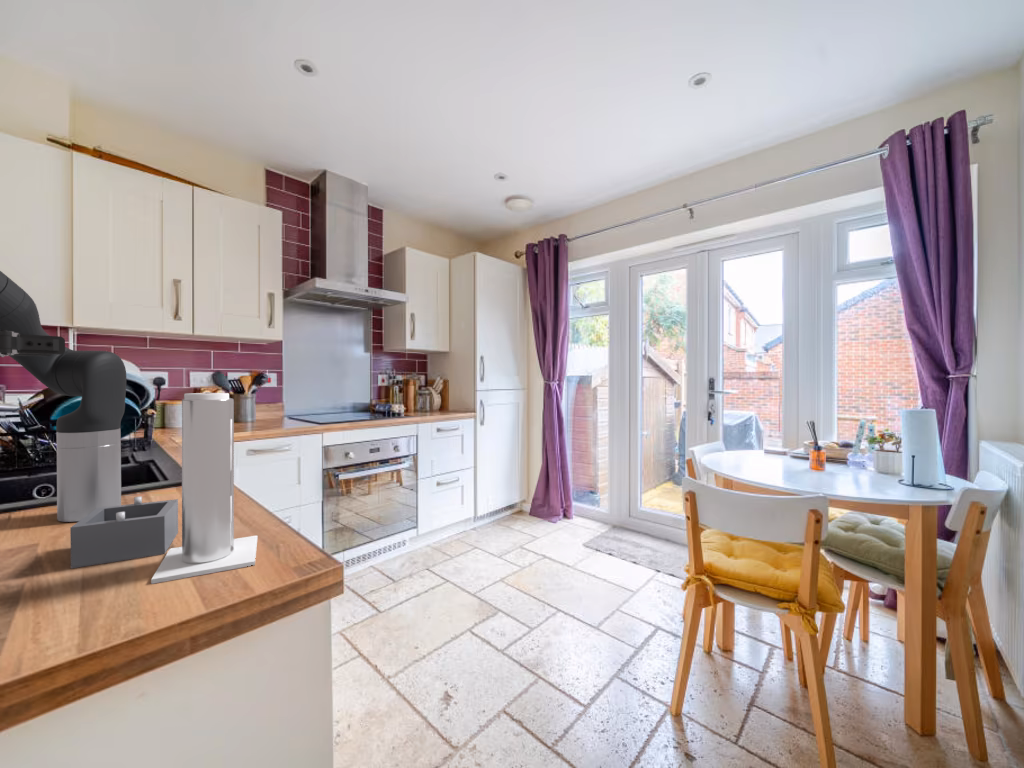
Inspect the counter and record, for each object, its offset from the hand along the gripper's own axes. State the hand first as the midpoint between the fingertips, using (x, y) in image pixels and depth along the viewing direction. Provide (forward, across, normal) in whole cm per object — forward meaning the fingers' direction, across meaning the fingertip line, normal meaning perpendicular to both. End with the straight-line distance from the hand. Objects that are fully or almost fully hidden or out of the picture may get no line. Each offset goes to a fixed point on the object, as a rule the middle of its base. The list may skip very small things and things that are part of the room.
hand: (57, 347), depth 56 cm
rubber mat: (+15, -5, +32) cm, 36 cm away
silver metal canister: (+15, -5, +32) cm, 35 cm away
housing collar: (+9, +10, +32) cm, 35 cm away
